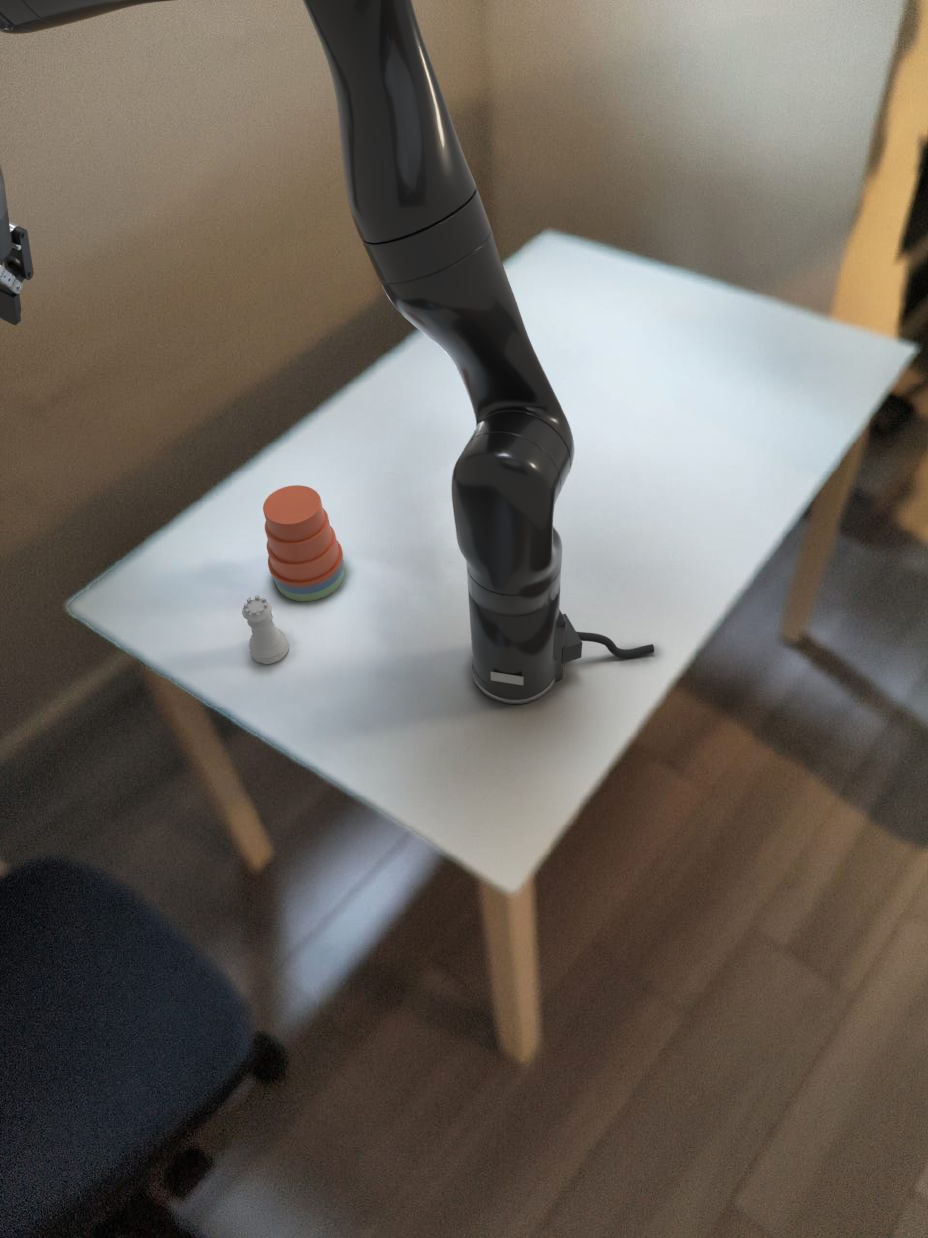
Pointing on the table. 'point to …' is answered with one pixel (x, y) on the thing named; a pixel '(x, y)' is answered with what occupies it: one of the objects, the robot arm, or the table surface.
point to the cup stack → (301, 544)
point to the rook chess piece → (264, 632)
